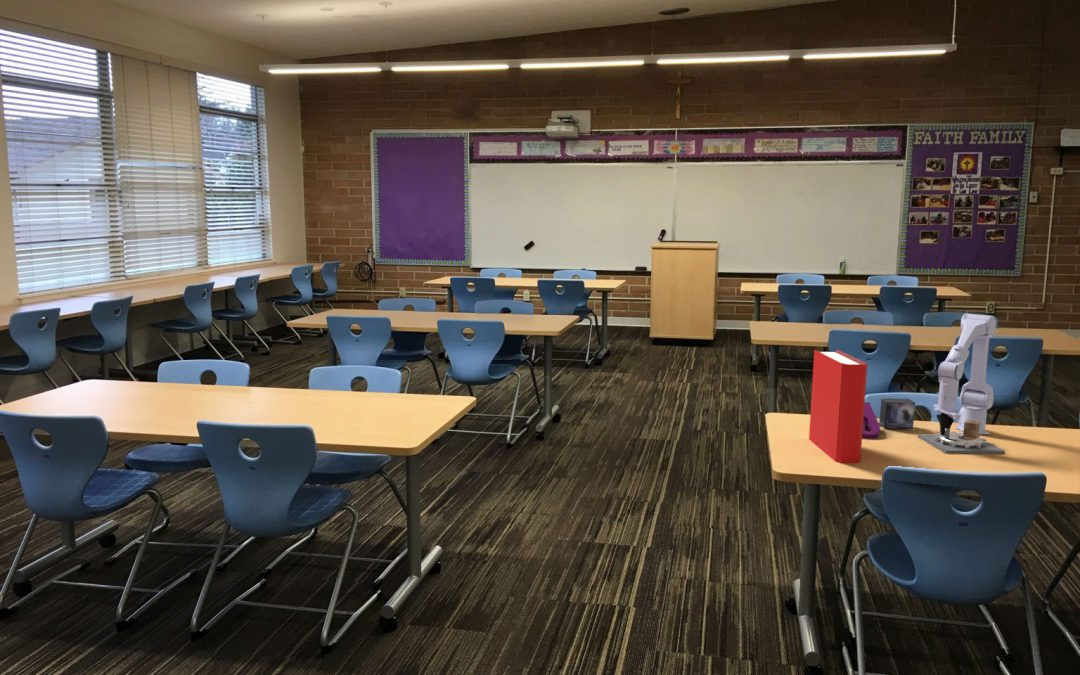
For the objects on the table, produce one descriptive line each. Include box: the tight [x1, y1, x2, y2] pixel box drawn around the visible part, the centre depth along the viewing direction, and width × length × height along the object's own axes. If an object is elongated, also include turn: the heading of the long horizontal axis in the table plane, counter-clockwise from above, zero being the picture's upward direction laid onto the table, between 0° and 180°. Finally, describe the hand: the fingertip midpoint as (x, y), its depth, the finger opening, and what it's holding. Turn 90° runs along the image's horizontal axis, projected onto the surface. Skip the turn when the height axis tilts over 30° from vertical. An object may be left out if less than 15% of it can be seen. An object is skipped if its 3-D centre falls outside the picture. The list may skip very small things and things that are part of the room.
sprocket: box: [934, 427, 988, 448], centre depth 292 cm, size 16×16×5 cm
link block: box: [962, 420, 980, 438], centre depth 293 cm, size 4×4×5 cm
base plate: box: [917, 433, 1006, 455], centre depth 292 cm, size 20×20×6 cm
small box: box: [878, 397, 916, 430], centre depth 314 cm, size 11×6×10 cm, turn 88°
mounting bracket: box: [862, 401, 881, 439], centre depth 309 cm, size 9×8×18 cm
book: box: [808, 349, 868, 464], centre depth 282 cm, size 27×8×32 cm, turn 1°
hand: (944, 435), depth 292 cm, fingers closed
